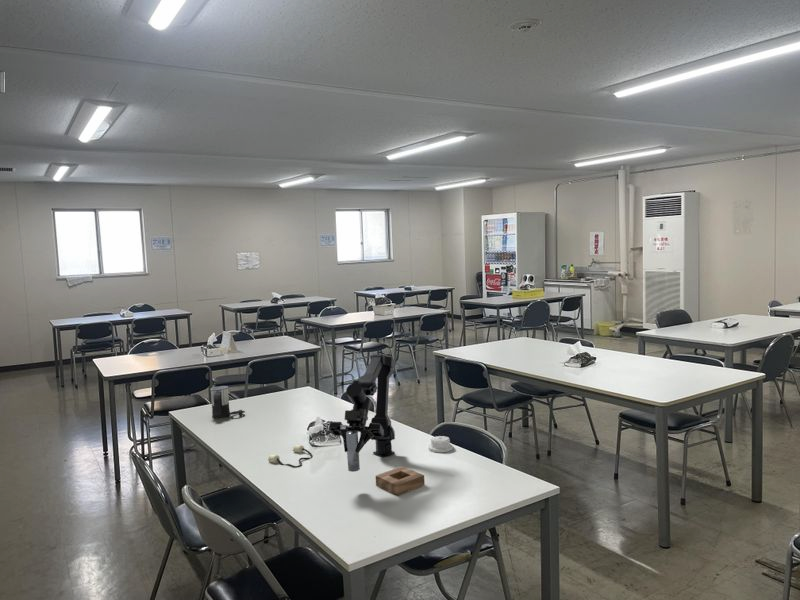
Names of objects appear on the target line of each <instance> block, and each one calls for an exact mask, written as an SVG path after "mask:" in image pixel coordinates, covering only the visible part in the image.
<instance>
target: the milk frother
mask: <svg viewBox="0 0 800 600" xmlns="http://www.w3.org/2000/svg"><path fill="white" fill-rule="evenodd" d="M228 388H229V386H228V385H219V386H212V387H211V388H209V390H210V398H211V410H212V411H211V417H212V418H214V419H215V418H217V419H218V418H219V419H220V418H226V417H229V416H230V415H231V416H232V415H238V416H243V414H244V413H246V411H245V410H243V409H238V410H237V411H231V410H230V401H229V398H230V397H229V389H228Z"/></svg>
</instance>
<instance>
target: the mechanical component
mask: <svg viewBox="0 0 800 600" xmlns="http://www.w3.org/2000/svg"><path fill="white" fill-rule="evenodd" d="M427 447H428V448H427V449H428V450H429V451H430V452H433V453H447V452H450V451H452V450H454V445H453V444H452V443H451V440H450V437H448V436H444V435H442V436H441V435H438V436H437V435H436V436H434V437H432V438H431V439H430V443H429V444H428V446H427Z"/></svg>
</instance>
